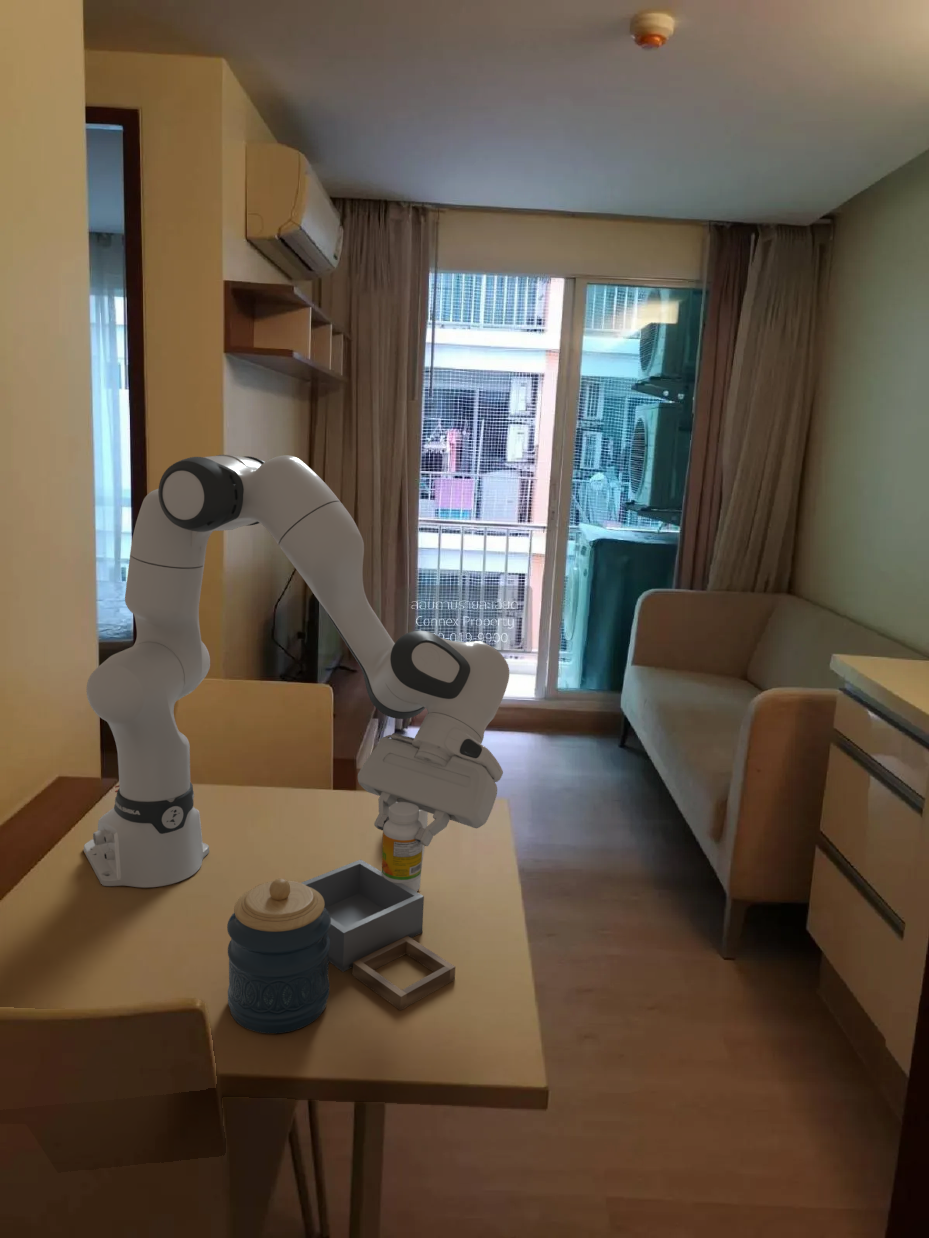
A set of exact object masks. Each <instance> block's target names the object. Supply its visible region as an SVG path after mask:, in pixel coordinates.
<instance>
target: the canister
mask: <svg viewBox="0 0 929 1238" xmlns="http://www.w3.org/2000/svg"><path fill="white" fill-rule="evenodd" d="M324 906H325V903H324V899H323V897H322V895H321V894H320V893H319V892H318V891H316V890H315V889H313V888H311V887H308V886H306V885H304V884H302V882H298V881H295V880H287V879H286V878H276V879H274V880H272V881H268V882H264V883H261V884H259V885H257V886H255V887H253V888H251V889H249V890H247V891H246V892H245V893H243V894H242V895H241V896H239V898H237V900H236V902H235V904H234V906H233V907H234V908H233V913H232V914H231V916H230V917H229V919H228V921H227V926H226V927H227V933H228V935H229V938H230V941H229V943H228V944H227V945H228V946H227V957H228V979H229V980H228V987H227V988H228V989H227V1004H228V1007H229V1012H230V1014H231V1016H232V1019H233V1020H234V1021H235V1022H236V1023H237V1024H239V1025H240V1026H242V1027H243V1028H245V1029H247V1030H250V1031H253V1032H255V1031H256V1033H262V1034H270V1033H275V1034H282V1033H289V1032H293V1031H297V1030H300V1029H302V1028H304V1027H307V1026H308V1025H310V1024H311V1023H313V1022H314V1021H315V1020H317V1019H318V1018H319V1017H320V1016H321V1015H322V1013H323V1012H324V1011H325V1009H326V1006H327V1003H328V999H329V995H330V978H329V963H330V962H329V949H330V939H329V936H328V934H327V931H328V930H329V928H330V924H331V917H330V914H329V912H328V911H327V909H326V908H325V907H324Z"/></svg>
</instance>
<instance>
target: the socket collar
mask: <svg viewBox="0 0 929 1238" xmlns="http://www.w3.org/2000/svg"><path fill="white" fill-rule="evenodd" d="M404 955H407V956H409V957H411V958H412V959H414V960H415V961H417V962H418V963H420V964H421V965H422V966H424V967H425V968H427V969H429V970H430V971H432V973H430V974H428V975H427V976H424V977H423V978H421V979H419V980H417V981H416V982H414V983H412V984H411V985H408V986H407V987H404V988H402V989H401V988H400V987H398V986H397V985H395V984H394V983H392V982H391V981H390V980H388V979H386V977H384V976H383V975H381V974H380V973H379V972H377V971H376V970H377V969H379V968H381V967H382V966H384V965H385V966H386V965H387V964H389V963H390V962H392V961H394V960H396V959H398V958H401V957H402V956H404ZM352 976H353V977H354V978H355V979H357V980H359V981H360V982H361V983H363V984H364V985H365V986H367V987H368V988H369V989H371V990H372V991H374V992H375V993H376V994H377V995H379V997H382V998H383V999H384V1000H386V1001H387V1002H388V1003H390V1004H391V1005H393V1007H395V1008H396V1009H398V1010H399V1011H402V1010H403V1009H405V1008H407V1007H409V1006H410V1005H412V1004H415V1003H416V1002H418V1001H420V1000H422V999H423V998H425V997H427V996H428V995H430V994H431V993H435V991H437V990H440V989H441V988H443V987H444V986H446V985H447V984H450V983H451V982H452V981H455V980H456V966H455V965H454V964H452V963H450V962H449V961H447V960H446V959H444V958H442V957H441V956H439V955H438V954H436V953H435V952H434V951H432V950H430V949H429V948H427V947H426V946H424V945H422V944H421V943H420V942H418V941H416V940H414V939H413V937H412V938H410V937H408V936H406V937H403V938H401V939H399V940H397V941H395V942H393V943H391V944H389V945H387V946H385V947H383V948H381V949H379V950H377V951H375V952H373V953H371V954H369V955H367V956H365V957H363V958H361V959H359V960H357V961H355V962H353V967H352Z"/></svg>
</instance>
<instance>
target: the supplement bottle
mask: <svg viewBox="0 0 929 1238" xmlns="http://www.w3.org/2000/svg"><path fill="white" fill-rule="evenodd" d="M418 818H419V807H418V806H417V805H415V804H413V803H408V802H399V803H395V804H393V805H391V806H390V808H389V820H388V821H387V822H386V823H385V824H384V827H383V830H382V848H381V849H382V852H381V853H382V854H381V872H382V875H383V877H384V878H385V879H387V880H388V881H390V882H393V883H409V882H413V881H415V880H417V879H418V878H419V877H420V875H421V876H422V870H421V867H422V868H423V862H422V844H419V843H417V841H415V836H416V834H418V830H419V828H420V827H421V828H423V826H422V824H421V822H420V821H418Z"/></svg>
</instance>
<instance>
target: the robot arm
mask: <svg viewBox="0 0 929 1238" xmlns="http://www.w3.org/2000/svg"><path fill="white" fill-rule="evenodd" d="M158 484H159V485H158V488H157V489H154V490H152V491H150V492H148V493H147V495H146V496H144V498H143V501H142V503H141V506H140V509H139V512H138V514H137V519H136V521H135V527H134V530H133V535H132V538H131V539H132V540H131V545H130V552H129V560H128V561H129V562H128V568H127V569H128V570H127V577H126V586H125V595H124V601H125V606H126V608H127V609H128V610H129V612H131V613H132V614H133V616H134V621H135V627H136V639H135V642H134V644H133V645H132V646H131V647H129V648H125V649H124V650H122V651H121V650H120V651H118V652H116V653H114V654H112V655H110V656H108V658H107V659H106V660H104V661H103V662H102V663H101V664H99V666H98V667H96V668H95V670H94V671H92V673H91V674H90V676H89V677H88V680H87V683H86V696H87V697H86V698H87V701H88V703H89V705H90V707H91V709H92V710H93V712H94V713H95V714H96V715H97V716H98V717H99V718H100V719H102V720H104V721H105V722H107V724H108V726H109V729H110V730H111V733H112V735H113V739H114V741H115V745H116V751H117V765H118V781H119V782H118V784H119V785H115V786H114V788H116V790H114V792H115V793H116V795H115V796H116V797H114V807H113V808H111V809H110V810H108V811H107V812H106V813H104V814H103V815H102V816H101V817H100V818H99V819H98V823H97V830H96V831H94V832H93V833H92V839H90V840H89V841H87V842H86V843H85V844H84V845H83V853H84V854H85V853H86V854H85V856H86V858H87V860H88V863H89V864H90V866H91V868H92V869H93V872H94V873H95V875H96V877H97V879H98V881H99V883H100V885H101V884H102V885H101V886H104V887H117V886H119V887H120V886H127V887H135V888H156V887H163V886H169V885H172V884H176V883H179V882H181V881H184V880H186V879H188V878H190V877H192V876H194V874H196V873H197V872H198V871H199V870H200V868H201V867H202V864H203V859H204V858H205V857H206V856H207V855H208V854H209V853H210V846H209V845H208V844H207V843H205V842H203V835H202V824H201V815H200V811H199V809H197V808H196V807H194V798H195V793H194V786H193V784H192V782H191V755H190V754H191V752H190V751H191V749H190V748H191V747H190V742H189V741H190V740H189V739H188V737H187V736H186V735H184V734H183V733H182V732H180V731H179V729H178V725H177V722H176V719H175V713H174V709H175V704H176V702H177V701H179V700H180V699H182V698H183V697H186V696H188V695H189V694H191V693H193V692H194V691H195V690H196V689H197V688H198V686H199V685H200V684H201V683H202V681H203V680H204V679H205V678H206V677H207V675H208V672H209V671H210V667H211V657H210V653H209V650H208V648H207V646H206V644H205V643H204V642H203V641H202V634H201V627H200V613H199V612H200V600H201V593H202V586H203V585H202V584H203V577H204V569H205V562H206V554H207V546H208V542H209V539H210V537H211V535H212V533H213V532H214V531H215V532H217V531H218V532H219V531H223V532H224V531H232V530H235V529H238V528H241V527H247V526H256V525H258V524H261V525H262V526H263V528H264V529H266V531H267V532H268V533H269V534H270V536H271V537H272V538H273V540H274V541H275V543H276V544H277V546H278V547H279V548H280V549H281V551H282V553H283V554H284V555H285V556H286V558H287V559H288V561H289V562H290V563H291V564H292V566H293V567H294V568H295V570H296V571H297V572H298V574H299V575H300V577H301V578H302V579H303V580H304V582H305V583H306V585H307V586H308V587H309V589H310V590H311V592H312V593H313V594H314V597H315V598H316V599H317V601H318V602H319V603H320V605H321V607H322V609H323V611H324V612H325V614H326V615H327V617H328V619H329V620H330V621H331V622H330V623H332V625H333V627H334V628H335V630H336V632H337V633H338V634H339V636H340V637H341V639H342V640H343V641H344V644H345V645H346V646H347V648H348V650H349V651H350V653H351V654H352V656H353V657H354V659H355V660H356V663H357V664H358V666H359V668H360V670H361V673H362V675H363V679H364V683H365V687H366V692H367V695H368V698H369V700H370V701H371V703H372V705H373V706H374V707H375V708H376V709H377V710H378V712H380V713H382V714H384V716H386V717H389V718H392V719H395V720H407V719H410V718H414V717H416V716H418V715H420V714H421V713H422V712H423V711H424V710H426V711H427V713H426V715H425V717H424V719H423V721H422V722H421V725H420V727H419V728H418V730H417V732H416V734H415V737H411V736H405V735H403V734H401V733H398V732H397V733H396V732H394V733H391V734H389V735H385V736H382V737H381V738H380V739H379V742H378V743H377V745H376V746H375V748H374V749H373V751H372V752H371V753H370V755H369V756H368V758H367V759H365V760H366V761H365V762H364V763H363V765H362V766H361V768H360V769H359V771H358V772H357V773H358V774H357V780H358V784H359V785H360V786H361V787H362V788H363V789H364V791H366V792H367V793H369V794H373V795H375V796H378V797H379V798H378V814H377V817H376V818H375V821H374V823H373V824H374V827H375V828H377V829H378V830H380V831H383V827H384V824H385V823H386V822H387V821H388V820H389V807H390V806H391V805H393V804H395V802H408V803H413V804H415V805H417V806H418V807H419V809H420V810H423V811H426V812H428V813H429V814H431V815H432V818H433V819H434V820H433V821H432V822H430V823H429V824H427V827H426V828H425V829H424V828H421V827H420V828H419V830H418V834H416V836H415V841H417V843H419V844H422V845H424V846H425V847H429V846H430V844H431V842H432V839H433V837H434V836H437V834H439V833H440V832H441V831H443V830H445V829H446V828H447V826H448V824H449V822H450V821H452V822H455V823H459V824H461V825H465V826H467V827H471V828H472V829H479V828H481V827H482V826H483V825H484V826H485V824H486V823H487V821H488V820H489V817H490V816H491V813H492V810H493V807H494V804H495V802H496V799H497V797H498V795H497V794H498V785H497V784H496V783H498V782H499V781H500V780H501V778H502V776H503V774H504V770H503V768H502V766H501V765H500V762H499V761H498V759H497V758H496V757H495V756H494V755H493V753H492V752H491V751H490V749H488V747H486V746H484V745H483V742H484V738H485V737H484V736H485V731H486V728H487V727H488V725H489V724H490V722H491V721H492V720H494V719H495V717H496V715H497V712H498V710H499V707H500V705H501V703H502V701H503V699H504V696H505V693H506V691H507V687H508V684H509V680H510V667H509V664H508V662H507V660H506V659H505V657H504V655H502V654H501V652H500V651H499V650H497V649H496V648H495V647H494V646H491V645H490V644H488V643H486V642H483V641H480V640H473V641H467V642H466V641H456V640H450V639H446V638H443V637H440V636H439V635H437V634H435V633H433V632H430V631H425V630H413V631H410V632H409V631H408V633H404V634H403V635H401V636H400V637H399V638H398V639H397V640H396V641H394V639H392V637H391V635H390V634H389V633H388V631H387V629H386V628H385V626H384V625H383V623H382V621H381V620H380V618H379V617H378V616H377V615H378V614H376V612H375V610H373V608H372V606H371V604H370V603H369V600H368V598H367V595H366V592H365V587H364V579H363V578H364V577H363V575H364V574H363V573H364V572H363V571H364V570H363V569H364V568H363V566H364V565H363V564H364V556H365V543H364V539H363V537H362V534H361V531H360V530H359V527H358V526H357V524H356V522H355V520H354V519H353V517H352V515H351V513H349V511H348V510H347V508H346V507H345V505H344V504H343V503H342V502H341V501H340V499H339V498H338V497H337V495H336V494H335V492H333V491H332V489H331V488H330V487H329V485H328V484H327V483H326V481H325V482H324V480H323V479H322V478H321V477H320V476H319V475H318V474H317V473H316V472H315V471H314V470H313V469H312V468H311V467H309V466H308V465H307V463H305V462H304V461H303V460H302V459H300V458H298V457H296V456H294V455H288V454H286V455H277V456H275V457H273V458H270V459H268V460H266V461H264V460H262V459H260V458H258V457H254V456H240V455H234V454H218V455H217V454H216V455H213V456H211V455H210V456H192V457H187V458H184V459H181V460H179V461H176V462H174V463H173V464H171V465H170V466H169V467H168V468H167V469H166V470H165V471H164V472H163V473H162V476H161V479H160V480H159V483H158ZM117 788H118V789H117Z"/></svg>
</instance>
